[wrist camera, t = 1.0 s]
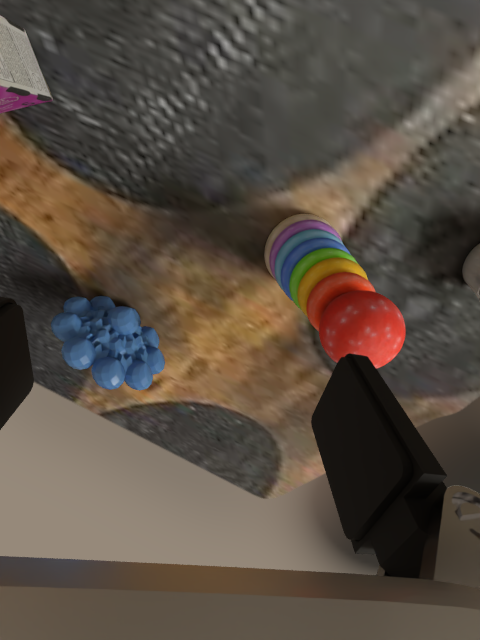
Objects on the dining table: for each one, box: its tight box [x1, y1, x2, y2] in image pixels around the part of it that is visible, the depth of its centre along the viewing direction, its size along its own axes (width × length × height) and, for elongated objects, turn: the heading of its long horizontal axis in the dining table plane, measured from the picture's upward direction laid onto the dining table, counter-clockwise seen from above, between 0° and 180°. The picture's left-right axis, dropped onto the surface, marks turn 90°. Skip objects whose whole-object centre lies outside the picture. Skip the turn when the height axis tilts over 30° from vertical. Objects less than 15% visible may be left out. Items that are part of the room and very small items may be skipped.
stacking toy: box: [264, 214, 405, 368], centre depth 25 cm, size 8×8×19 cm
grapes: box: [51, 296, 165, 390], centre depth 30 cm, size 12×7×12 cm, turn 55°
